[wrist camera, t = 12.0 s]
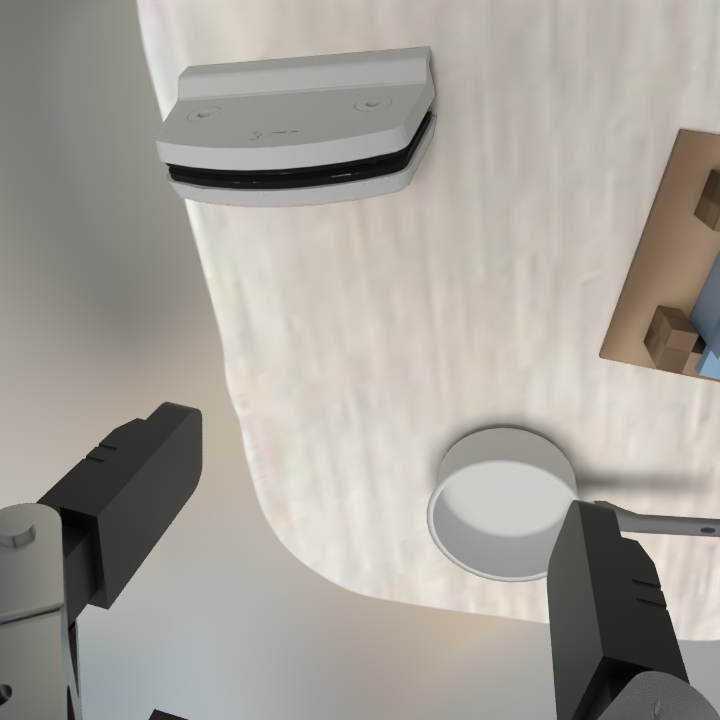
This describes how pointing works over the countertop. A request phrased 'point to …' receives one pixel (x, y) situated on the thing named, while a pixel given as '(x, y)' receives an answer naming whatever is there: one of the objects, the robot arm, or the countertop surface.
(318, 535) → the countertop surface
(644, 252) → the cradle
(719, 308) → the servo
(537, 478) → the saucepan
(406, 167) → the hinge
